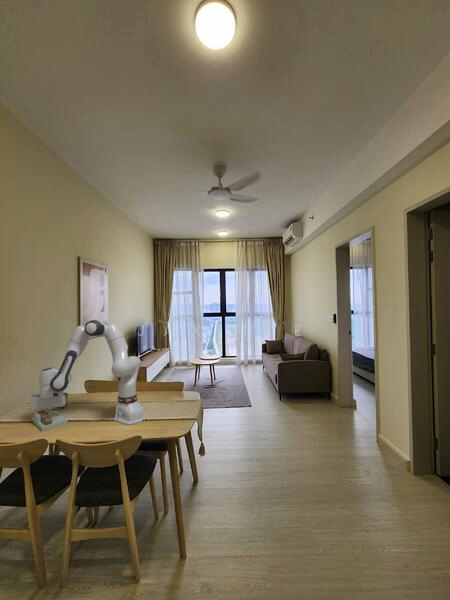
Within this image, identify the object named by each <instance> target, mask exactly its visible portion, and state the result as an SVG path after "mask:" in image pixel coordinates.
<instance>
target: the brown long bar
mask: <svg viewBox="0 0 450 600" xmlns="http://www.w3.org/2000/svg"><path fill="white" fill-rule="evenodd" d="M36 413H39V414H40V415H41V421H42V422H43V423H44V424H46V425H47V424H50V423H52V417H51V416H50V415H49V414H48V413H47V412H45V411H44V409H41V410H39V411H37V412H36Z"/></svg>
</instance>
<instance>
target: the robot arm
mask: <svg viewBox="0 0 450 600" xmlns="http://www.w3.org/2000/svg"><path fill="white" fill-rule="evenodd" d="M91 337H95V338H97V337H98V338H99V337H104V338H105V341H106V342H107V345H108V348H109V350H110V353H111V357H112V365H111V374H112V375H113V376H114V377H116V378H120V380H119V382H118V385H117V387H118V395H117V405H116V406H115V416H114V418H113V421H114V422H115V421H116V422H118V423H121V424H124V425H128V426H129V425H136V424H139V423H142V422H144V421H146V420H147V419H148V417H147V415H145V414H144V406H141V404H140V403H139V401H138V399H139V397H138V395H137V378H138V375H139V370H140V367H141V365H142V360H141V358H140V357H139V356H134V355H131V356H129V355H128V350H129V349H128V348H129V346H128V343H127V340H126V338H125V336H124V334H123V332H122V330H121V328H120V327H119V326H118V324H115V323H110V324H108V323H107V322H105V321H104V320H99V319H92V320H89V321H87V322H86V323H85V325H78V326H77V327H76V328H75V329H74V331H73V333H72V334H71V335H70V338H69V340H68V343H67V346H66V351H65V353H64V354H65V355H64V358H63V361H62V363H61V366H60V368H59V369H56V368H54V367H47V368H44V369H42V370H41V371H40V372H39V378H38V380H39V381H38V383H39V393H36V394H34V393H33V394H31V395H30V396H29V401H30V402H29V410H44V411H45V412H47V413H48V414H49V415H50V412H51V411H52V409H55V408H54V407H63V406H64V405H65V404H66V400H65V396H64V394H63V393H65V390H66V389H67V388H68V385H69V384H70V382H71V380H72V375H71V370H72V368H73V366H74V364H75V362H76V361H77V360H78V358H80V357H81V355H82V354H83V352H84V351H85V349H86V348H87V345H88V343H89V341H90V339H91ZM146 418H147V419H146ZM145 419H146V420H145ZM143 420H144V421H143Z"/></svg>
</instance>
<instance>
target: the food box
mask: <svg viewBox="0 0 450 600" xmlns="http://www.w3.org/2000/svg"><path fill="white" fill-rule="evenodd" d="M50 416H51V417H52V423H50V424H47V425H46V424H44V423H43V422H42V421H41V415H40V414H39V413H37V412H35V413H34V414H33V415H32V416H31V421H32V422H33V423H34V424H35V425H36V426H37V428H38V429H39V430H40V431H41V432H44V431H49V430H51V429H54V428H58V427H62V426H65V425H68V424H69V423H68V421H69V420H68V418H66V417H64V416H63V415H62V414H61V413H60V412H58V411H57V409H55V410H51V411H50Z"/></svg>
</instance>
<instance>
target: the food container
mask: <svg viewBox="0 0 450 600" xmlns="http://www.w3.org/2000/svg"><path fill="white" fill-rule="evenodd" d="M63 394H64V396H65V400H66V404H65V405H64V406H63V407H54V408H53V409H56V410H57V409H58V410H66V409H67V405H68V398H69V394H68V393H67V392H64V393H63Z"/></svg>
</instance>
